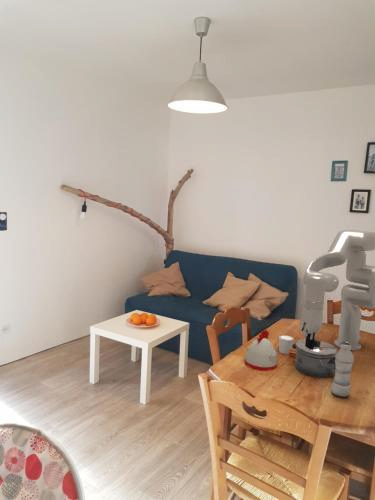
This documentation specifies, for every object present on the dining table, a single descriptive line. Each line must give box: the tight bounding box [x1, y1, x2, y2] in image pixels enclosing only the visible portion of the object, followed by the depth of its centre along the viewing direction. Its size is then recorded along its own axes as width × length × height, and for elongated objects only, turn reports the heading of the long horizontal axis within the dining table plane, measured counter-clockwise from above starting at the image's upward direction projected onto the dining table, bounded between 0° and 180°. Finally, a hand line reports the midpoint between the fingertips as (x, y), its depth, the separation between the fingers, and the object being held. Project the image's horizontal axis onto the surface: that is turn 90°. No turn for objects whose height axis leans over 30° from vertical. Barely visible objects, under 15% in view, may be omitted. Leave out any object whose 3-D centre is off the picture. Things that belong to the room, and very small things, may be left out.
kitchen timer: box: [244, 329, 278, 372], centre depth 167 cm, size 14×14×15 cm
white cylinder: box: [278, 334, 295, 355], centre depth 182 cm, size 7×7×7 cm
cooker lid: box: [296, 338, 338, 356], centre depth 163 cm, size 16×16×3 cm
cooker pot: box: [292, 343, 338, 379], centre depth 163 cm, size 17×25×9 cm, turn 41°
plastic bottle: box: [330, 342, 355, 398], centre depth 142 cm, size 6×7×20 cm
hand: (309, 347), depth 160 cm, fingers closed
